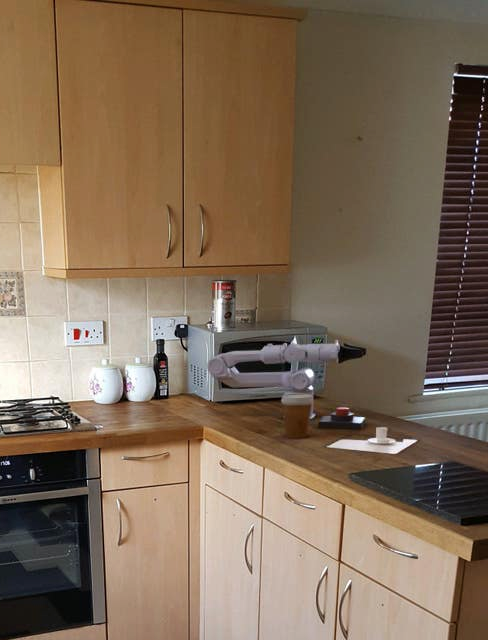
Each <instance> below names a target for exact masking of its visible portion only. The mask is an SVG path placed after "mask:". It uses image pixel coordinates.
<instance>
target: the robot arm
mask: <svg viewBox="0 0 488 640" xmlns="http://www.w3.org/2000/svg"><path fill="white" fill-rule="evenodd" d="M366 354H367V348H365V347H362V346H357V345H352V344H350V343H348V342H343V345H342V344H339V340H338V339H335V340H334V343H307V344H304V343H303V344H299V343H294V342H292V343H290V344H288V343H287V342H284V343H283V344H275V345H273V343H267V345H264V346H263V348H262V349H260V350H233V351H228V352H225V353H223V352H222V353H219V354H217V355H214V356H212V357H210V358H209V359H208V360H207V363H206V367H207V368H206V369H207V371H208V372H209V374H210V375H211V377H212V378H213V379H216V380H218V381H220V382H221V383H223V384H224V385H227V386H228V387H230V388H286V390H284V394H283V395H285V394H294V393H301V394H310V395H312V398H313V399H314V387H313V383H314V382H315V380H316V379H315V378H316V376H315V372H314V371H313V370H312V369H311V368H310V367H301V368H300V369H297V370H290V371H289V370H288V371H268V372H267V371H265V372H260V371H259V372H240V371H238V369H237V368H236V367H235V365H237V364H238V363H245V362H246V363H247V362H256V361H261V362H262V363H264V364H265V365H270V364H284V363H286V362H287V363H288V364H291V365H293V364H294V365H295V364H296V363H298V362H300V363H335V364H337V363H338V364H339V365H340V364H342V363H344V362H348V361H350V360H351V361H352V360H357V359H361V358H363V356H366ZM315 416H316V413H314V402H313V403H312V406H311V413H310V419H309V420H312V419H314V417H315ZM282 419H284V414H283V415H282Z"/></svg>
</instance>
